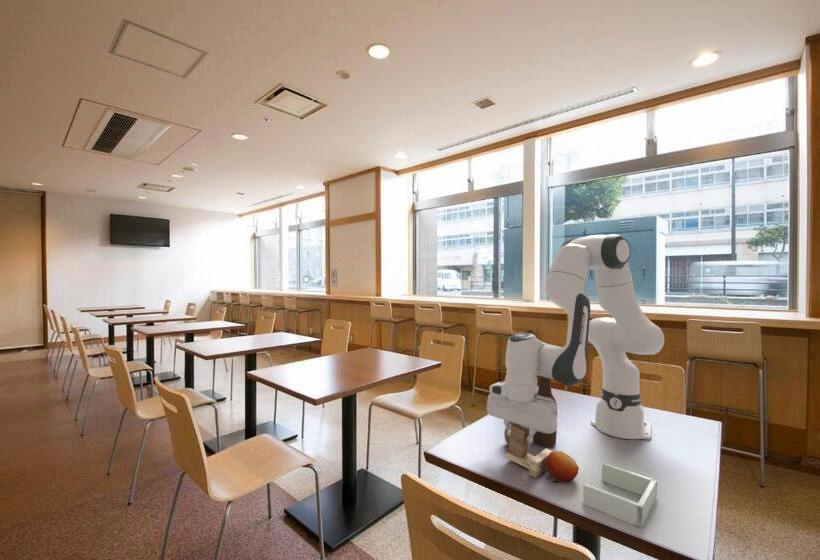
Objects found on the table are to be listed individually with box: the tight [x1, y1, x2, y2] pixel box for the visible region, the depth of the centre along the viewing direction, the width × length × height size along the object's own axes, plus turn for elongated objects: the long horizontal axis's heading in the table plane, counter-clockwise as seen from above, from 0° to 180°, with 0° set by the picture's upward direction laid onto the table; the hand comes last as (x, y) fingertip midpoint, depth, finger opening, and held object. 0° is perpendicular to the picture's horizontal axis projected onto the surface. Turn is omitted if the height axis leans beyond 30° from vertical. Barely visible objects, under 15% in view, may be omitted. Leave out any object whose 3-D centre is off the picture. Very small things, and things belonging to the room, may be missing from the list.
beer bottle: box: [532, 375, 558, 448], centre depth 122 cm, size 8×8×24 cm
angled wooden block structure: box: [506, 423, 553, 479], centre depth 107 cm, size 10×10×10 cm
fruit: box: [546, 450, 580, 484], centre depth 101 cm, size 8×8×8 cm
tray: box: [582, 462, 658, 528], centre depth 91 cm, size 15×12×4 cm
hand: (519, 438), depth 109 cm, fingers closed on angled wooden block structure, 4 cm apart
